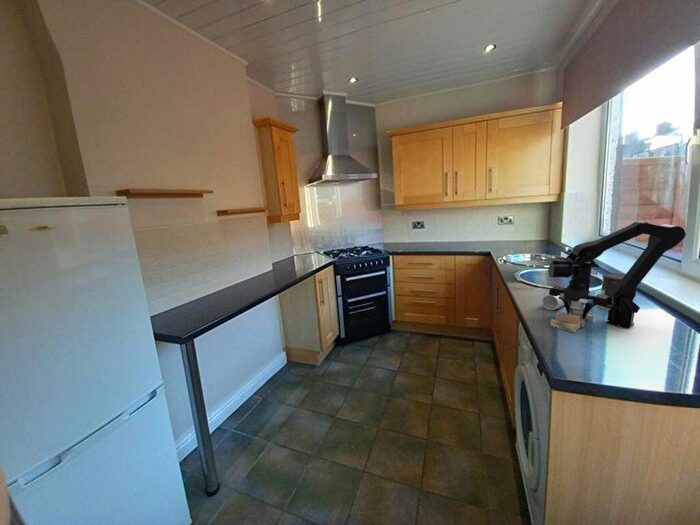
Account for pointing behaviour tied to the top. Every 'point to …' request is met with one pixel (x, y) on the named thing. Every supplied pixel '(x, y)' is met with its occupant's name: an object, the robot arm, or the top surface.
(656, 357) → the top surface
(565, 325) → the offcut rack
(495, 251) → the top surface
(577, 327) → the lower offcut
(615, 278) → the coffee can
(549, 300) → the drinking glass
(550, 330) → the top surface
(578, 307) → the pill bottle
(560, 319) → the upper offcut
